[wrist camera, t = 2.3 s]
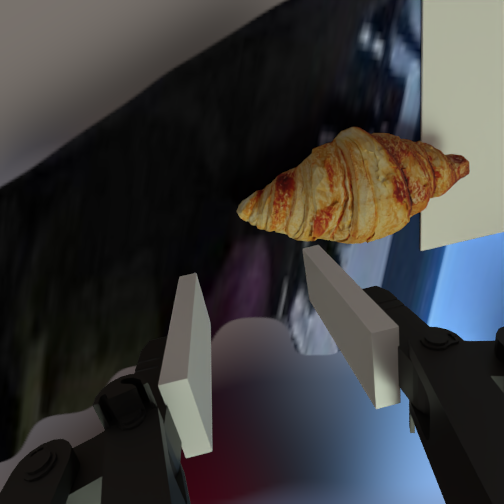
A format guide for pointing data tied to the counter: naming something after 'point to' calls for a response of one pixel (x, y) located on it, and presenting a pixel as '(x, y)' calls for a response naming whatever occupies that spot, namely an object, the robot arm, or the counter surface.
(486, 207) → the mat
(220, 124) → the counter surface
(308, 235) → the croissant
